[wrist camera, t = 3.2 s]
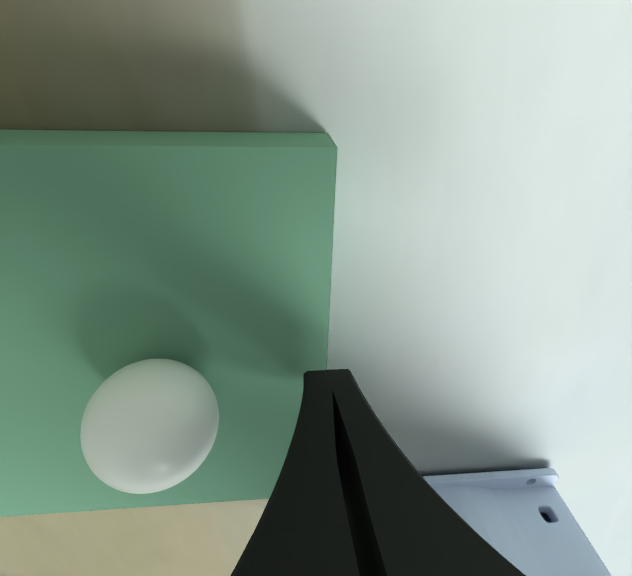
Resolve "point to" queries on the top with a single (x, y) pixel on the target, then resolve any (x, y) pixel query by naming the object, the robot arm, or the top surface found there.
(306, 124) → the top surface
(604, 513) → the top surface
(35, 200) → the board
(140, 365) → the ball
